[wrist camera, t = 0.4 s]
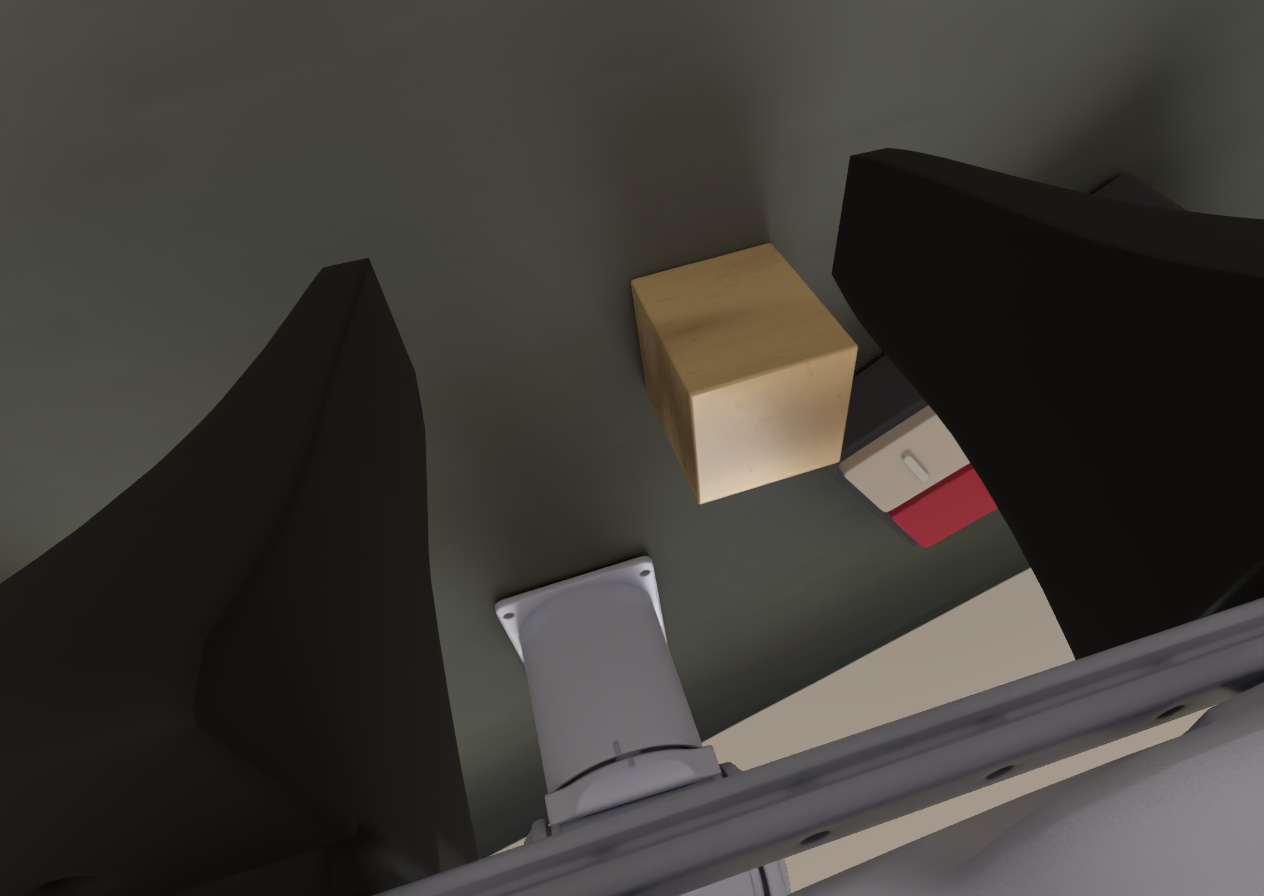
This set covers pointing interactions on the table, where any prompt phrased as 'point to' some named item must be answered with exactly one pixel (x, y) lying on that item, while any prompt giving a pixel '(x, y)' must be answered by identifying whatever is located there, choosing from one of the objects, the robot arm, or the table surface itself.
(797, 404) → the birch block
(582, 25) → the table surface
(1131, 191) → the calculator
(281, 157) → the table surface
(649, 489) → the table surface
